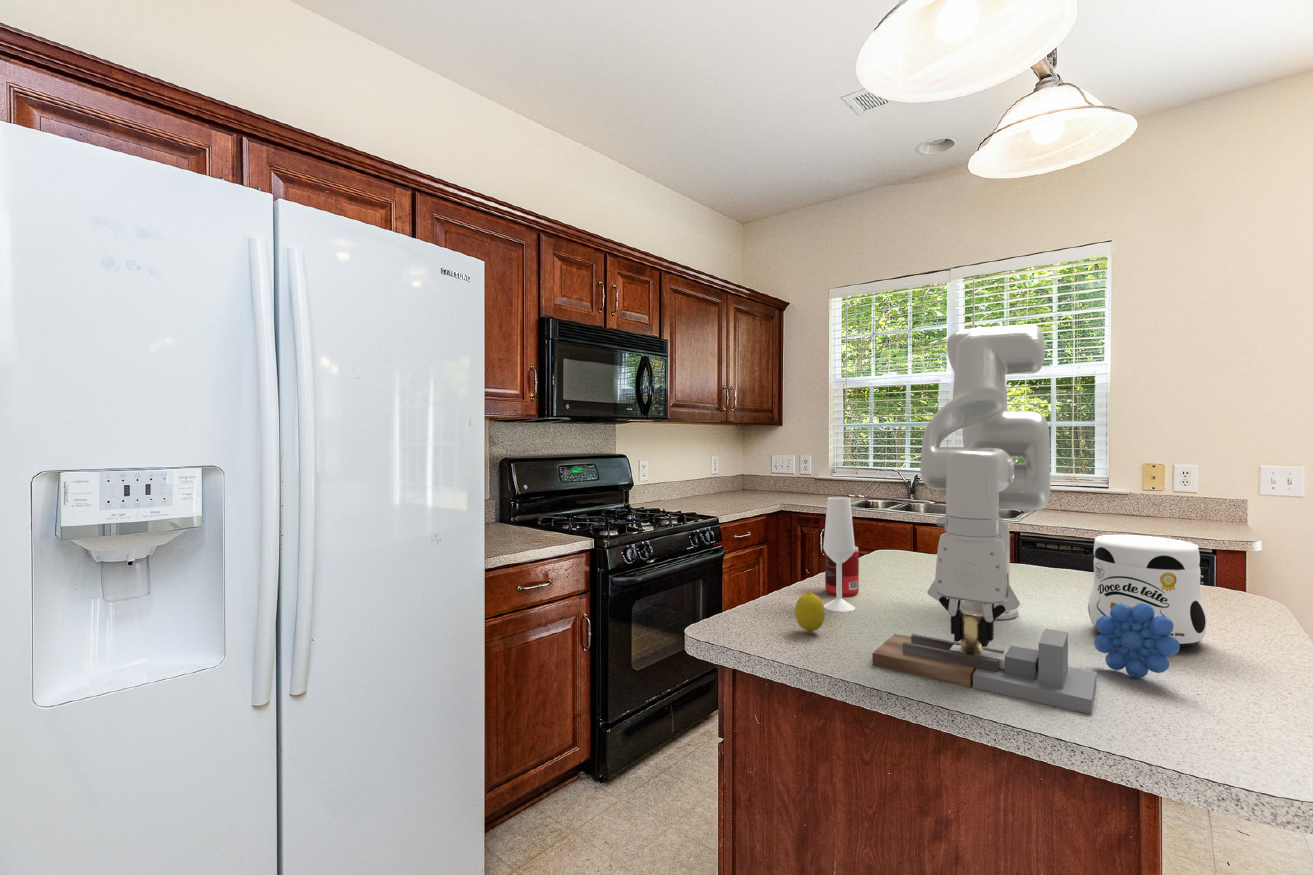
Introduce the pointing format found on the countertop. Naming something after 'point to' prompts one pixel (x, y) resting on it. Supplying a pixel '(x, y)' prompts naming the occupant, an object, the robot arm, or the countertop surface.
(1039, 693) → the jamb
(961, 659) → the wooden block with rails
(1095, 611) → the doce de leite tub
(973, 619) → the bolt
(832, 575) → the canned food
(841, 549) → the champagne flute
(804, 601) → the lemon
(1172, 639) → the blue flower
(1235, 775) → the countertop surface
